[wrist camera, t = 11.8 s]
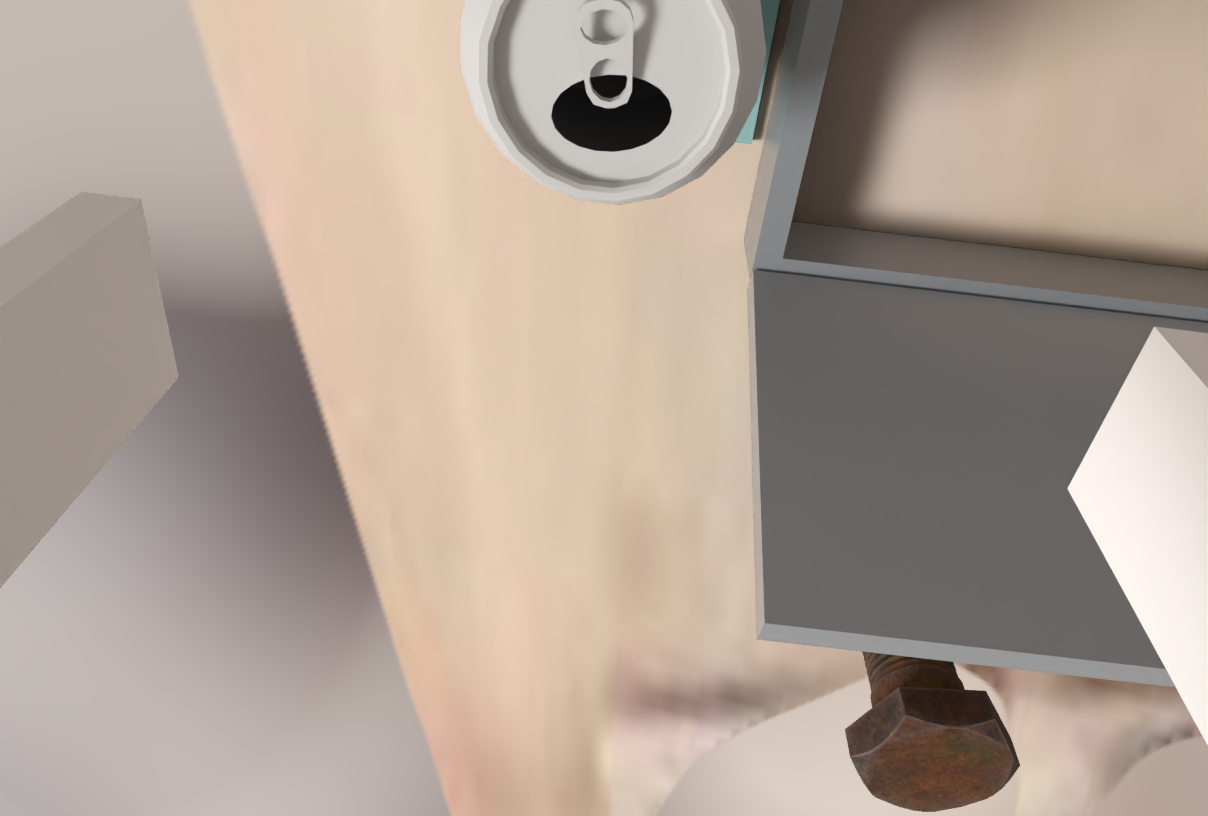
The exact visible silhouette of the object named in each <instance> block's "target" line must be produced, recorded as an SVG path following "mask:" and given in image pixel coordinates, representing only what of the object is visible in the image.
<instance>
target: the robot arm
mask: <svg viewBox="0 0 1208 816" xmlns="http://www.w3.org/2000/svg"><path fill="white" fill-rule="evenodd" d="M178 377H179V376H178V371H177V367H176V362H175V358H174V353H173V348H172V343H171V339H170V334H169V329H168V324H167V320H166V315H165V311H164V306H163V301H162V297H161V292H160V287H159V282H158V277H157V273H156V268H155V264H154V259H153V254H152V249H151V245H150V240H149V235H148V231H147V226H146V221H145V216H144V212H143V207H142V203H141V199H135V198H127V197H119V196H111V195H104V194H96V193H88V192H81V193H79V194H78V195H76V196H75V197H73V198H72V199H70V200H69V201H67V202H66V203H64V204H63V205H62V206H60V207H59V208H57V209H56V210H54V211H53V212H51V213H50V214H48V215H47V216H45V217H44V218H42V219H41V220H40V221H38V222H37V223H35V224H34V225H32V226H31V227H29V228H28V229H26V230H25V231H23V232H22V233H20V234H19V235H18V236H16V237H15V238H13V239H12V240H10V241H9V242H7V243H6V244H4V245H3V246H1V247H0V588H1V587H2V585H3V584H4V583H5V582H6V581H7V579H8V578H9V577H10V576H11V574H13V572H14V571H15V570H16V569H17V568H18V566H19V565H20V564H21V563H22V562H23V560H24V559H25V558H26V557H27V555H29V553H30V552H31V551H32V550H33V549H34V547H35V546H36V545H37V544H38V543H39V542H40V540H41V539H42V538H43V537H44V536H45V534H46V533H47V532H48V531H49V530H50V529H51V527H52V526H53V525H54V524H55V523H56V522H57V520H58V519H59V518H60V517H61V515H62V514H63V513H64V512H65V511H66V510H67V509H68V507H69V506H70V505H71V504H72V503H73V501H74V500H75V499H76V498H77V497H78V495H79V494H80V493H81V492H82V491H83V490H84V488H85V487H86V486H87V485H88V484H89V483H90V481H91V480H92V479H93V478H94V477H95V475H96V474H97V473H98V472H99V471H100V470H101V468H102V467H103V466H104V465H105V464H106V462H107V461H108V460H109V459H110V458H111V457H112V455H113V454H114V453H115V452H116V451H117V449H118V448H119V447H120V446H121V445H122V444H123V442H124V441H125V440H126V439H127V438H128V436H129V435H130V434H131V433H132V432H133V430H134V429H135V428H136V427H137V426H138V424H139V423H140V422H141V421H142V420H143V419H144V417H145V416H146V415H147V414H148V413H149V412H150V410H151V409H152V408H153V407H154V406H155V405H156V403H157V402H158V401H159V400H160V399H161V397H162V396H163V395H164V394H165V393H166V392H167V390H168V389H169V388H170V387H171V385H172V384H173V383H174V382H175V381H176V380H177V379H178ZM1067 489H1068V491H1069V493H1070V494H1071V496H1072V498H1073V500H1074V502H1075V503H1076V505H1077V507H1078V509H1079V511H1080V513H1081V514H1082V516H1083V518H1084V520H1085V522H1086V524H1087V525H1088V527H1089V529H1090V531H1091V533H1092V535H1093V536H1094V538H1095V540H1096V542H1097V544H1098V546H1099V547H1100V549H1101V551H1102V553H1103V555H1104V557H1105V558H1106V560H1107V562H1108V564H1109V566H1110V568H1111V569H1112V571H1113V573H1114V575H1115V577H1116V579H1117V580H1118V582H1119V584H1120V586H1121V588H1122V590H1123V591H1124V593H1125V595H1126V597H1127V599H1128V600H1129V602H1130V604H1131V606H1132V608H1133V610H1134V611H1135V613H1136V615H1137V617H1138V619H1139V621H1140V622H1141V624H1142V626H1143V628H1144V630H1145V632H1146V633H1147V635H1148V637H1149V639H1150V641H1151V643H1152V644H1153V646H1154V648H1155V650H1156V652H1157V654H1158V655H1159V657H1160V659H1161V661H1162V663H1163V665H1164V666H1165V668H1166V670H1167V672H1168V674H1169V676H1170V677H1171V679H1172V681H1173V683H1174V685H1175V687H1176V688H1177V690H1178V692H1179V694H1180V696H1181V698H1182V699H1183V701H1184V703H1185V705H1186V707H1187V708H1188V710H1189V712H1190V714H1191V716H1192V718H1193V719H1194V721H1195V723H1196V725H1197V727H1198V729H1199V730H1200V732H1201V734H1202V736H1203V738H1204V739H1205V741H1206V743H1207V745H1208V333H1202V332H1194V331H1186V330H1178V329H1170V328H1162V327H1154V328H1153V330H1152V332H1151V333H1150V335H1149V337H1148V339H1147V341H1146V343H1145V345H1144V347H1143V348H1142V350H1141V352H1140V354H1139V356H1138V358H1137V360H1136V361H1135V363H1134V365H1133V367H1132V369H1131V371H1130V373H1129V375H1128V376H1127V378H1126V380H1125V382H1124V384H1123V386H1122V388H1121V389H1120V391H1119V393H1118V395H1117V397H1116V399H1115V401H1114V402H1113V404H1112V406H1111V408H1110V410H1109V412H1108V414H1107V416H1106V417H1105V419H1104V421H1103V423H1102V425H1101V427H1100V429H1099V430H1098V432H1097V434H1096V436H1095V438H1094V440H1093V442H1092V444H1091V445H1090V447H1089V449H1088V451H1087V453H1086V455H1085V457H1084V458H1083V460H1082V462H1081V464H1080V466H1079V468H1078V470H1077V472H1076V473H1075V475H1074V477H1073V479H1072V481H1071V483H1070V485H1069V486H1068V488H1067Z"/></svg>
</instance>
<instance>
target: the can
mask: <svg viewBox="0 0 1208 816" xmlns="http://www.w3.org/2000/svg"><path fill="white" fill-rule="evenodd" d="M765 56H766V45H765V37H764V28H763V19H762V11H761V2H760V0H466V2H465V5H464V8H463V11H462V15H461V70H462V73H463V76H464V80H465V83H466V86H467V90H468V93H469V96H470V99H471V103H472V106H473V109H474V113H475V115H476V116H477V118H478V119H479V121H480V122H481V124H482V125H483V127H484V129H485V130H486V132H487V133H488V135H489V136H490V138H491V139H492V141H493V142H494V144H495V145H496V147H497V148H498V150H499V151H500V153H501V154H502V155H504V156H505V157H506V158H507V159H508V160H509V161H511V162H512V163H513V164H514V165H515V166H517V167H518V168H519V169H520V170H521V171H523V172H524V173H525V174H526V175H527V176H529V177H530V178H531V179H532V180H533V181H534V182H536V183H538V184H540V185H543V186H545V187H547V188H550V189H552V190H554V191H557V192H559V193H561V194H563V195H566V196H568V197H570V198H573V199H575V200H581V201H590V202H598V203H607V204H616V205H622V204H627V203H632V202H637V201H643V200H648V199H653V198H659V197H663V196H665V195H667V194H669V193H671V192H672V191H674V190H676V189H678V188H680V187H682V186H684V185H686V184H688V183H689V182H691V181H693V180H695V179H697V178H699V177H701V176H702V175H703V174H704V173H705V172H706V171H707V170H708V169H709V168H710V167H711V166H712V165H713V164H714V163H715V162H716V161H717V160H718V159H719V158H720V157H721V156H722V155H723V154H724V153H725V152H726V151H727V150H728V149H729V148H730V147H731V146H732V145H733V144H734V143H735V141H736V139H737V138H738V136H739V134H740V132H741V130H742V128H743V126H744V124H745V122H746V121H747V119H748V117H749V115H750V113H751V111H752V109H753V107H754V105H755V104H756V102H757V98H758V92H759V87H760V82H761V77H762V71H763V66H764V61H765Z"/></svg>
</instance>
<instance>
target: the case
mask: <svg viewBox="0 0 1208 816" xmlns="http://www.w3.org/2000/svg"><path fill="white" fill-rule="evenodd" d="M843 2H844V0H793V3H792V8H791V13H790V18H789V23H788V28H787V33H786V37H785V42H784V47H783V52H782V57H781V62H780V67H779V72H778V76H777V81H776V86H775V91H774V96H773V101H772V106H771V110H770V115H769V120H768V125H767V130H766V135H765V140H764V144H763V149H762V154H761V159H760V164H759V169H758V174H757V179H756V183H755V188H754V193H753V198H752V203H751V208H750V213H749V217H748V222H747V227H746V232H745V237H744V244H745V250H746V257H747V263H748V269H749V276H750V283H749V287H748V326H749V365H750V403H751V441H752V480H753V518H754V556H755V595H756V633H757V639H758V640H767V641H775V642H784V643H793V644H802V645H810V646H819V647H828V648H837V649H845V650H854V651H863V652H872V653H880V654H889V655H898V656H907V657H915V658H924V659H933V660H942V661H950V662H959V663H968V664H977V665H985V666H994V667H1003V668H1012V669H1020V670H1029V671H1038V672H1046V673H1055V674H1064V675H1073V676H1081V677H1090V678H1099V679H1108V680H1116V681H1125V682H1134V683H1143V684H1151V685H1160V686H1169V687H1175V685H1174V683H1173V681H1172V679H1171V677H1170V676H1169V674H1168V672H1167V670H1166V668H1165V666H1164V665H1163V663H1162V661H1161V659H1160V657H1159V655H1158V654H1157V652H1156V650H1155V648H1154V646H1153V644H1152V643H1151V641H1150V639H1149V637H1148V635H1147V633H1146V632H1145V630H1144V628H1143V626H1142V624H1141V622H1140V621H1139V619H1138V617H1137V615H1136V613H1135V611H1134V610H1133V608H1132V606H1131V604H1130V602H1129V600H1128V599H1127V597H1126V595H1125V593H1124V591H1123V590H1122V588H1121V586H1120V584H1119V582H1118V580H1117V579H1116V577H1115V575H1114V573H1113V571H1112V569H1111V568H1110V566H1109V564H1108V562H1107V560H1106V558H1105V557H1104V555H1103V553H1102V551H1101V549H1100V547H1099V546H1098V544H1097V542H1096V540H1095V538H1094V536H1093V535H1092V533H1091V531H1090V529H1089V527H1088V525H1087V524H1086V522H1085V520H1084V518H1083V516H1082V514H1081V513H1080V511H1079V509H1078V507H1077V505H1076V503H1075V502H1074V500H1073V498H1072V496H1071V494H1070V493H1069V491H1068V489H1067V488H1068V486H1069V485H1070V483H1071V481H1072V479H1073V477H1074V475H1075V473H1076V472H1077V470H1078V468H1079V466H1080V464H1081V462H1082V460H1083V458H1084V457H1085V455H1086V453H1087V451H1088V449H1089V447H1090V445H1091V444H1092V442H1093V440H1094V438H1095V436H1096V434H1097V432H1098V430H1099V429H1100V427H1101V425H1102V423H1103V421H1104V419H1105V417H1106V416H1107V414H1108V412H1109V410H1110V408H1111V406H1112V404H1113V402H1114V401H1115V399H1116V397H1117V395H1118V393H1119V391H1120V389H1121V388H1122V386H1123V384H1124V382H1125V380H1126V378H1127V376H1128V375H1129V373H1130V371H1131V369H1132V367H1133V365H1134V363H1135V361H1136V360H1137V358H1138V356H1139V354H1140V352H1141V350H1142V348H1143V347H1144V345H1145V343H1146V341H1147V339H1148V337H1149V335H1150V333H1151V332H1152V330H1153V328H1154V327H1162V328H1170V329H1178V330H1186V331H1194V332H1202V333H1208V270H1200V269H1191V268H1183V267H1174V266H1166V265H1157V264H1148V263H1140V262H1131V261H1123V260H1114V259H1106V258H1097V257H1089V256H1080V255H1072V254H1063V253H1055V252H1046V251H1038V250H1029V249H1020V248H1012V247H1003V246H995V245H986V244H978V243H969V242H961V241H952V240H944V239H935V238H927V237H918V236H910V235H901V234H892V233H884V232H875V231H867V230H858V229H850V228H841V227H833V226H824V225H816V224H807V223H799V222H792V217H793V213H794V209H795V205H796V200H797V196H798V192H799V188H800V184H801V179H802V175H803V171H804V167H805V162H806V158H807V154H808V150H809V146H810V141H811V137H812V133H813V129H814V124H815V120H816V116H817V112H818V107H819V103H820V99H821V95H822V91H823V86H824V82H825V78H826V74H827V69H828V65H829V61H830V57H831V53H832V48H833V44H834V40H835V36H836V31H837V27H838V23H839V19H840V14H841V10H842V6H843Z"/></svg>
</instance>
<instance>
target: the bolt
mask: <svg viewBox="0 0 1208 816" xmlns="http://www.w3.org/2000/svg"><path fill="white" fill-rule="evenodd" d="M862 652H863V651H862ZM863 655H864V660H865V666H866V668H867V674H868V677H869V682H870V687H871V691H872V692H871V703H872V709H871V710H869V711H868V712H867V713H865V714H864V715H863V716H861V717H860V718H859V719H858V720H856V721H855V722H854V723H853V724H851V725H850V726H849V727H847V728H846V729H845V732H846V737H847V742H848V747H849V753H850V757H851V759H852V762H853V764H854V766H855V768H856V770H857V772H858V774H859V776H860V777H861V779H862V781H863V783H864V784H865V786H866V787H867V788H868V790H869V791H870V792H871V793H872V795H874V796H875V797H876V798H879V799H881V800H883V801H886V802H888V803H891V804H893V805H896V806H899V807H903V808H906V809H910V810H914V811H923V812H935V811H940V810H946V809H952V808H957V807H962V806H965V805H968V804H971V803H975V802H978V801H981V800H984V799H987V798H988V797H991V796H993V795H994V794H995V793H997V792H998V791H999V790H1001V789H1002V788H1003V787H1004V786H1005V784H1006V783H1007V782H1008V781H1009V780H1010V779H1011V777H1012V776H1013V775H1014V773H1015V772H1016V770H1017V769H1018V767H1019V766H1020V764H1019V761H1018V758H1017V755H1016V752H1015V749H1014V746H1013V743H1012V740H1011V738H1010V736H1009V734H1008V732H1007V730H1006V728H1005V726H1004V724H1003V722H1002V721H1001V719H1000V717H999V715H998V713H997V711H996V709H995V707H994V706H993V704H992V702H991V700H990V698H989V696H988V694H987V692H986V691H976V690H965V689H964V686H963V683H962V682H961V680H960V679H959V678H958V675H957V673H956V669H955V666H954V663H953V662H950V661H942V660H933V659H924V658H915V657H907V656H898V655H889V654H880V653H872V652H863Z"/></svg>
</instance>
